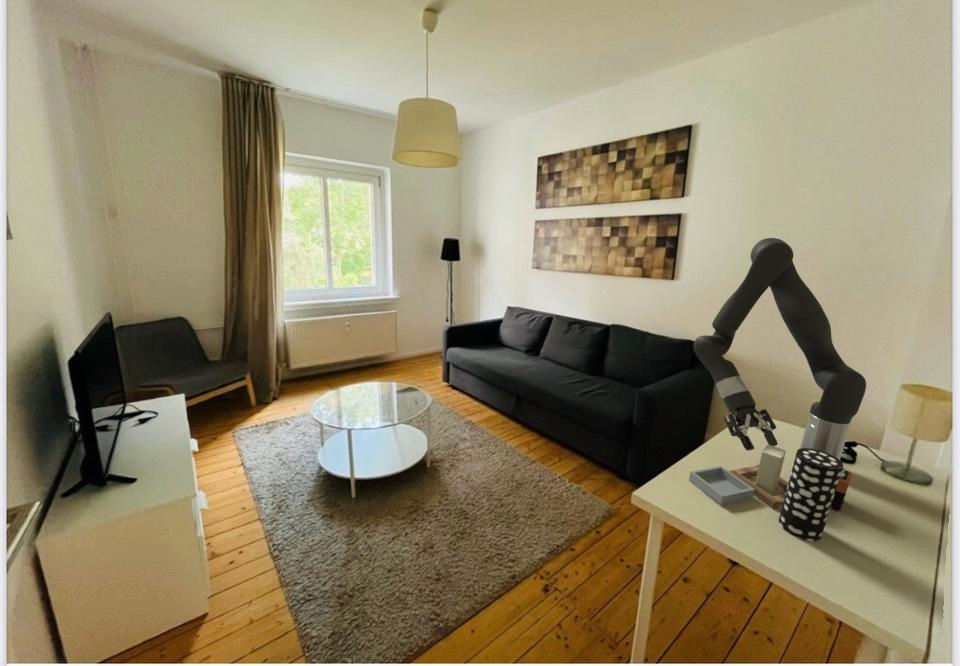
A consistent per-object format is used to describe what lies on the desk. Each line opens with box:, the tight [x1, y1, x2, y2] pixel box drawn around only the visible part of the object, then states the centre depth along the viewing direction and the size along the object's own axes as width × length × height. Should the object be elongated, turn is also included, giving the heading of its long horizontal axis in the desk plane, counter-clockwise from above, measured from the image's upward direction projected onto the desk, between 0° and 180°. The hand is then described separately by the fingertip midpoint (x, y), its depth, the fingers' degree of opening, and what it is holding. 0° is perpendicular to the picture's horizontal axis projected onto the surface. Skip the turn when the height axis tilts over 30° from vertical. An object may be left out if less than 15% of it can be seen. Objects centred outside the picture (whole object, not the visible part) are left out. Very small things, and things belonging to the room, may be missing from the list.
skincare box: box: [754, 444, 787, 496], centre depth 108 cm, size 6×4×12 cm
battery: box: [830, 467, 853, 512], centre depth 103 cm, size 4×7×10 cm, turn 132°
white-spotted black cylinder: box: [778, 447, 844, 542], centre depth 93 cm, size 8×8×20 cm
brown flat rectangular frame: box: [728, 464, 789, 510], centre depth 110 cm, size 12×14×2 cm
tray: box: [688, 465, 755, 507], centre depth 109 cm, size 11×11×3 cm
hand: (762, 447), depth 110 cm, fingers open, 8 cm apart
